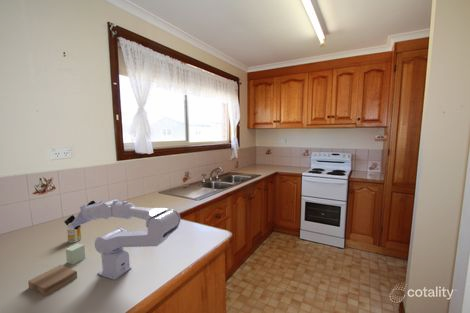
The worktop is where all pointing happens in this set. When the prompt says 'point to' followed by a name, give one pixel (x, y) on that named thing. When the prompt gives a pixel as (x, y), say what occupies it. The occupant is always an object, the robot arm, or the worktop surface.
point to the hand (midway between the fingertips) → (74, 216)
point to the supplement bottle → (73, 234)
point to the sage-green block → (75, 253)
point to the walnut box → (52, 280)
